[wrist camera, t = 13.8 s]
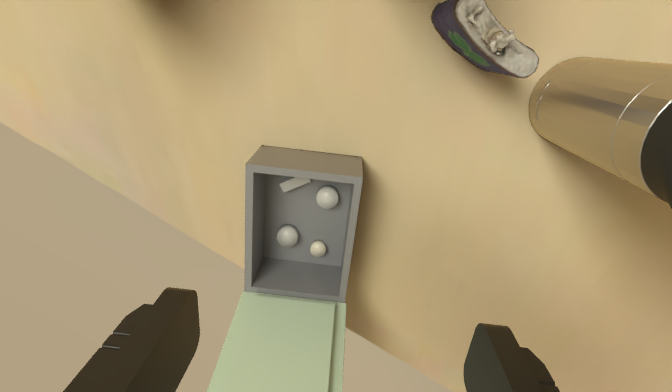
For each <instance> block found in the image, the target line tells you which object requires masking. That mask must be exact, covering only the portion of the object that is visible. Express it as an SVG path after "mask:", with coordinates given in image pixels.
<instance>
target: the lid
mask: <svg viewBox="0 0 672 392" xmlns="http://www.w3.org/2000/svg"><path fill="white" fill-rule="evenodd" d="M345 323H346V303H338V302H330V301H321V300H312V299H304V298H295V297H286V296H278V295H269V294H260V293H252V292H242V295H241V298H240V300H239V303H238V306H237V309H236V312H235V315H234V317H233V320H232V323H231V326H230V329H229V331H228V334H227V337H226V340H225V343H224V345H223V348H222V351H221V354H220V357H219V360H218V362H217V366H216V368H215V371H214V373H213V376H212V379H211V382H210V385H209V388H208V390H207V392H342V384H343V365H344V343H345Z"/></svg>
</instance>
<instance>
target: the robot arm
mask: <svg viewBox="0 0 672 392" xmlns="http://www.w3.org/2000/svg"><path fill="white" fill-rule="evenodd" d="M529 116H530V120H531V124H532V125H533V127H534V129H535V131H536V132H537V133H538V134H539V135H540V136H542V137H543V138H545V139H546V140H548V141H550V142H552V143H554V144H556V145H558V146H560V147H561V148H563V149H565V150H567V151H569V152H571V153H573V154H575V155H577V156H579V157H580V158H582V159H584V160H586V161H588V162H590V163H592V164H594V165H596V166H598V167H600V168H602V169H604V170H606V171H607V172H609V173H611V174H613V175H615V176H617V177H619V178H621V179H623V180H625V181H627V182H629V183H631V184H633V185H635V186H637V187H639V188H641V189H643V190H644V191H646V192H648V193H650V194H652V195H654V196H656V197H658V198H660V199H662V200H663V201H665V202H667V203H669V205H670V206H671V208H672V64H663V63H651V62H638V61H625V60H614V59H602V58H589V57H581V58H573V59H570V60H567V61H564V62H562V63H560V64H558V65H556V66H555V67H554V68H552V69H551V70H550V71H548V72H547V73H546V74H545V75H544V76H543V77H542V78H541V80H540V81H539V83H538V84H537V86H536V87H535V89H534V91H533V94H532V96H531V99H530V104H529ZM199 336H200V327H199V313H198V299H197V293H196V291H195V290H188V289H179V288H170V287H169V288H166V289H165V290H164V291H163V292H162V294H161V295H160V297H159V298H158V299H157V300H156V302H155V303H154V304H153V305H149V304H143V305H142V306H140V307H139V308H137V309H136V310H134V311H133V312H131V313H130V314H129V315H127V316H126V317H125V318H124V319H123V320H122V322H121V323H120V324H119V325H118V326H117V328H116V329H115V330H114V331H113V334H112V335H110V336H109V337H108V338H107V340H106V341H105V342H104V343H103V345H102V348H99V349H98V351H97V352H96V353H95V354H94V355H93V356H92V358H91V359H90V360H89V361H88V363H87V364H86V365H85V366H84V367H83V368H82V370H81V371H80V372H79V373H78V374H77V376H76V377H75V378H74V379H73V380H72V382H71V383H70V384H69V385H68V386H67V388H66V389H65V390H64V391H63V392H175V391H176V389H177V387H178V385H179V383H180V381H181V379H182V378H183V375H184V374H185V372H186V370H187V368H188V366H189V364H190V362H191V360H192V358H193V356H194V354H195V352H196V349H197V346H198V342H199ZM464 382H465V387H466V390H467V392H560V391H559V389H558V387H555V382H554V380H553V379H552V377H551V375H550V373H549V372H548V370H547V368H546V366H545V365H544V364H543V363H542V362H541V361H540V360H539V359H538V358H537V357H536V356H535V355H534V354H533V353H532V352H531V351H530V350H529V349H528V348H522V347H520V346H519V344H518V343H517V341H516V339H515V337H514V335H513V333H512V331H511V330H510V328H509V327H507V326H501V325H492V324H483V323H479V324H478V325H477V327H476V329H475V332H474V335H473V338H472V341H471V344H470V347H469V350H468V354H467V357H466V360H465V364H464Z"/></svg>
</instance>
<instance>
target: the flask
mask: <svg viewBox="0 0 672 392" xmlns="http://www.w3.org/2000/svg"><path fill="white" fill-rule="evenodd" d="M431 20H432V23H433V24H434V27H435V29H436V31H437V32H438V33H439V34H440V35H441V37H442V39H444V40H445V42H446V43H447V44H448V45H449V46H451V47H452V49H453V50H454V51H456V52H458V53H459V54H460V55H462V56H463V57H464V58H466V59H467V60H469V61H470V63H472V64H474V65H476V66H477V67H478V68H481V69H483V70H485V71H491V72H495V73H500V74H505V75H510V76H514V77H517V78H526V77H528V76H530V75H531V74H533V73H534V72H535V71H536V69H537V66H538V64H539V57H538V55H537V54H536V53H535V51H534V50H533V49H531V48H530V47H528V46H526V45H524V44H523V43H521V42H520V41H518V40H517V39H516V37H515V35H514V31H513V30H512V29H511V30H509V32H510V33H509V32H508V31H507V30H506V29H505V28H504V27H503V26H502V25H501V24H500V23H499V22H498V21H497V19H496V18H495V17H494V16H493V14H492V13H491V11H490V10H489V8H488V6H487V4H486V2H485V1H484V0H447V1H445V2H443V3H438V5H437V6H436V7H435V9H434V10H433V11H432V15H431Z"/></svg>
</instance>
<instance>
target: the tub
mask: <svg viewBox="0 0 672 392" xmlns="http://www.w3.org/2000/svg"><path fill="white" fill-rule="evenodd" d="M362 182H363V169H362V157H358V156H350V155H341V154H332V153H324V152H315V151H307V150H298V149H289V148H281V147H272V146H264V145H262V146H261V147H260V148H259V149H258V150H257V151H256V153H255V154H254V155H253V156H252V157H251V158H250V160H249V161H248V162H247V163H246V185H245V291H246V292H254V293H263V294H272V295H280V296H289V297H298V298H306V299H315V300H324V301H332V302H341V303H345V298H346V291H347V284H348V278H349V271H350V264H351V257H352V250H353V243H354V237H355V230H356V223H357V216H358V209H359V202H360V195H361V189H362Z"/></svg>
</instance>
